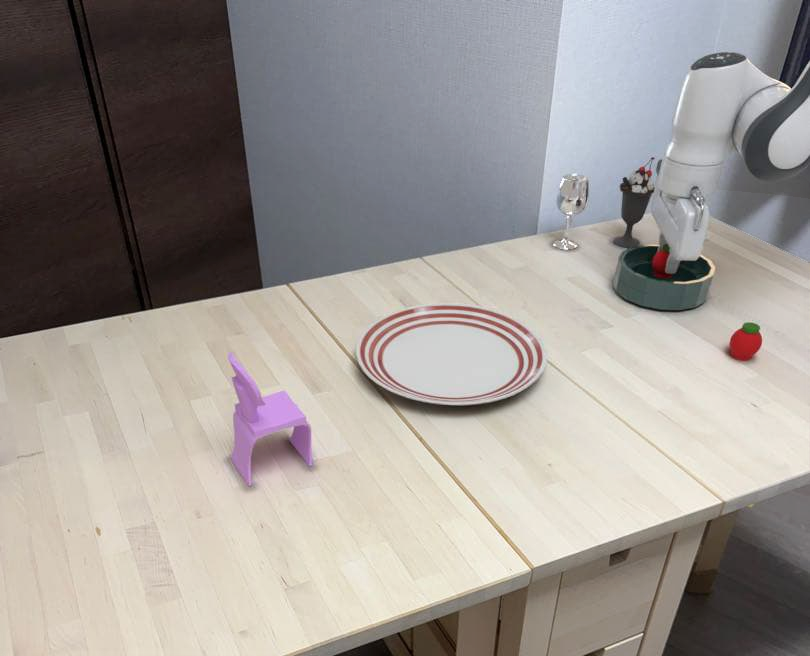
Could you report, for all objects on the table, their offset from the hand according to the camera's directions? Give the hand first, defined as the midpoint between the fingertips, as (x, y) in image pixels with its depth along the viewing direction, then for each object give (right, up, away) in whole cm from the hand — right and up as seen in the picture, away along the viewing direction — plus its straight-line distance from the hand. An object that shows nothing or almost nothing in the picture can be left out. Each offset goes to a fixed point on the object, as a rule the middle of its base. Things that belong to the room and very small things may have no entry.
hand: (665, 264), depth 124 cm
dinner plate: (-37, -21, -15) cm, 45 cm away
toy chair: (-60, -37, -32) cm, 77 cm away
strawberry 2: (+7, -18, -12) cm, 23 cm away
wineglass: (-13, +10, +17) cm, 24 cm away
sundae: (-1, +11, +19) cm, 22 cm away
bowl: (0, -3, +3) cm, 5 cm away
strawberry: (0, -1, +1) cm, 2 cm away
